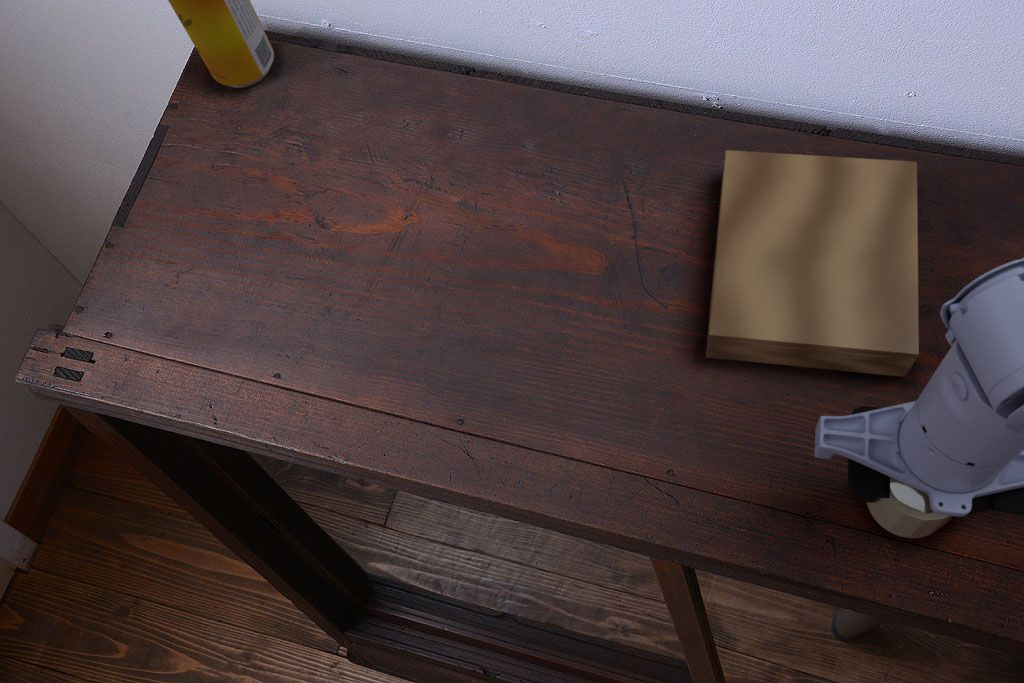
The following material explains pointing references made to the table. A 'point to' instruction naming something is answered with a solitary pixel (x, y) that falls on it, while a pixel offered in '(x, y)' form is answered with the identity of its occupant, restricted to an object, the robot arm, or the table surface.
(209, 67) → the beer can
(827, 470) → the table surface
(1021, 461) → the robot arm
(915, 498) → the ramekin
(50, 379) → the table surface
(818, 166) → the square wooden board
